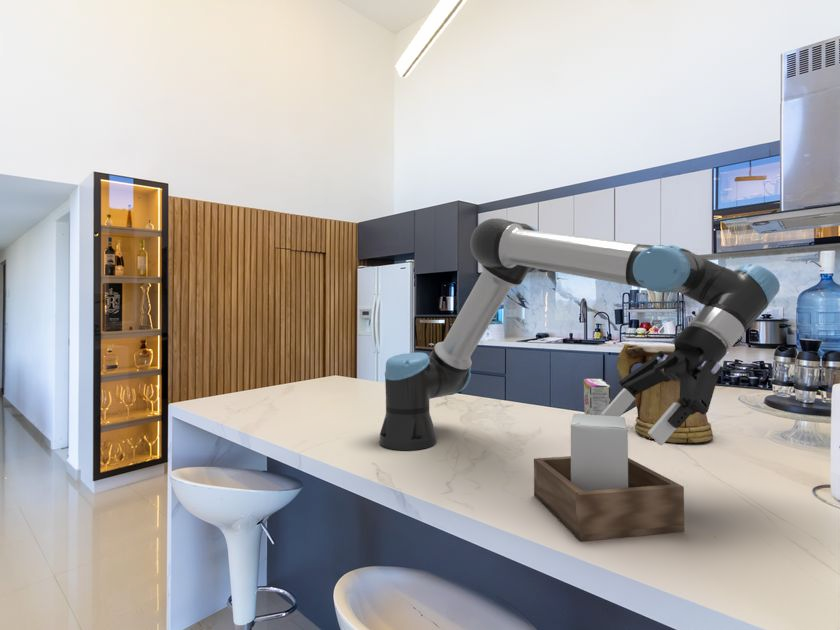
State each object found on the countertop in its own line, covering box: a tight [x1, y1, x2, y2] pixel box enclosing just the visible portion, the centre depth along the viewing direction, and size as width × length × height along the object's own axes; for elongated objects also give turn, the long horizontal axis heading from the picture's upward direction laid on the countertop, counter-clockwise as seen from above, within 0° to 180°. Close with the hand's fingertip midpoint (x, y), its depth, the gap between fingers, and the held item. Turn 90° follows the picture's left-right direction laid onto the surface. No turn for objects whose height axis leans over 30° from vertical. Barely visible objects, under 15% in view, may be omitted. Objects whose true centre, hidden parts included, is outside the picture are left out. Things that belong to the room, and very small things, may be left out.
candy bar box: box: [583, 378, 611, 416], centre depth 118 cm, size 11×5×16 cm, turn 168°
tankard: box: [616, 343, 714, 444], centre depth 127 cm, size 18×24×25 cm
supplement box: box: [570, 413, 629, 491], centre depth 79 cm, size 9×9×15 cm
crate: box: [533, 455, 685, 542], centre depth 79 cm, size 17×17×7 cm
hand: (628, 428), depth 79 cm, fingers open, 13 cm apart
